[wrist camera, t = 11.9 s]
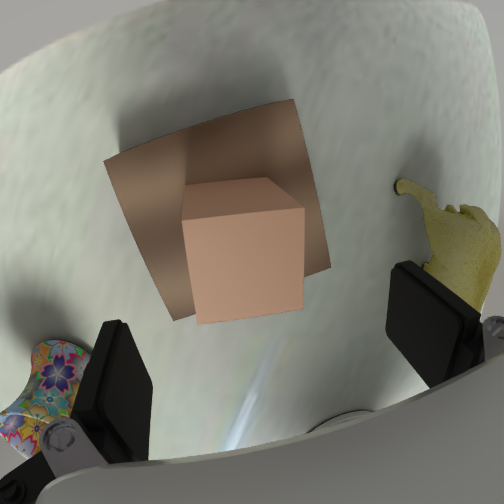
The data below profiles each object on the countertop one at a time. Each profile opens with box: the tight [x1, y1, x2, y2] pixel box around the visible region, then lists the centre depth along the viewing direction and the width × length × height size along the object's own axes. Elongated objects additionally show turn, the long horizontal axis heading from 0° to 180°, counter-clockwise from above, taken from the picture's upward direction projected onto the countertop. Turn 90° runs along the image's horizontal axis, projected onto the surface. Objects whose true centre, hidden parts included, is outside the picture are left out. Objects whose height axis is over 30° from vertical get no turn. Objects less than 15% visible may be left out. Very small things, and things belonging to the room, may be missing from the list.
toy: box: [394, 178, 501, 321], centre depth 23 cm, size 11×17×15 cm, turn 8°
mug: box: [0, 340, 91, 459], centre depth 23 cm, size 12×9×11 cm
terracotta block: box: [182, 177, 305, 325], centre depth 17 cm, size 5×5×7 cm
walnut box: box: [103, 99, 331, 321], centre depth 22 cm, size 12×12×5 cm
